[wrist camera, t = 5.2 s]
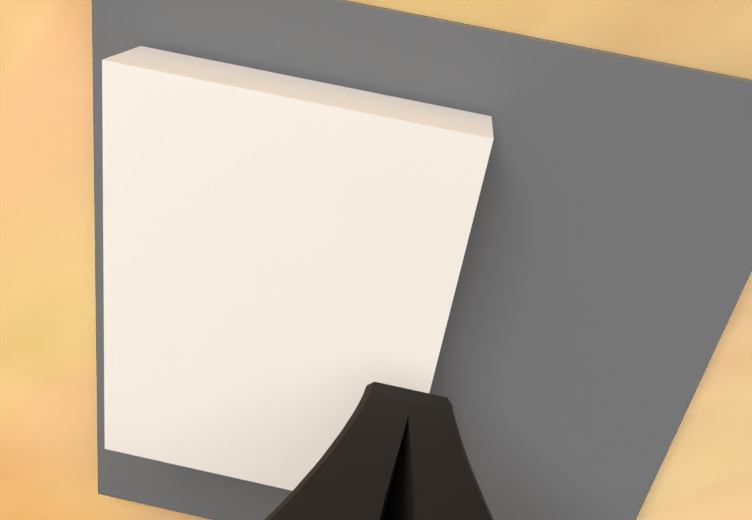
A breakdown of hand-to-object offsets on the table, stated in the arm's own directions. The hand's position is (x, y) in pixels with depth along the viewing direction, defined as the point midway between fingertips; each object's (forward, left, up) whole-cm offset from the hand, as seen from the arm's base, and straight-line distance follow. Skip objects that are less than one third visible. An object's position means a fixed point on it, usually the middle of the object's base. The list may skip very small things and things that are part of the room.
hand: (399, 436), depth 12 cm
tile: (0, -1, -3) cm, 4 cm away
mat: (-1, 0, -5) cm, 5 cm away
